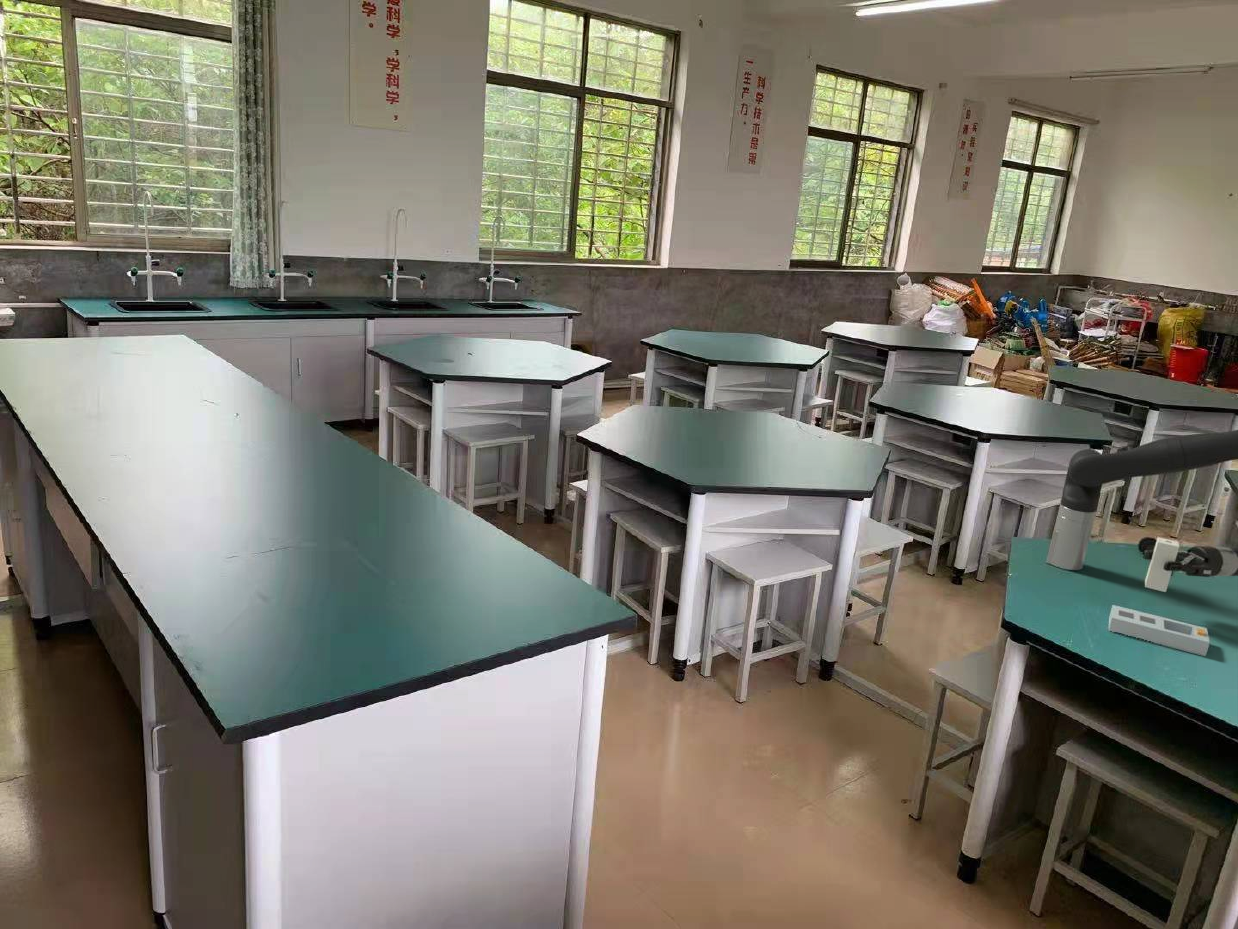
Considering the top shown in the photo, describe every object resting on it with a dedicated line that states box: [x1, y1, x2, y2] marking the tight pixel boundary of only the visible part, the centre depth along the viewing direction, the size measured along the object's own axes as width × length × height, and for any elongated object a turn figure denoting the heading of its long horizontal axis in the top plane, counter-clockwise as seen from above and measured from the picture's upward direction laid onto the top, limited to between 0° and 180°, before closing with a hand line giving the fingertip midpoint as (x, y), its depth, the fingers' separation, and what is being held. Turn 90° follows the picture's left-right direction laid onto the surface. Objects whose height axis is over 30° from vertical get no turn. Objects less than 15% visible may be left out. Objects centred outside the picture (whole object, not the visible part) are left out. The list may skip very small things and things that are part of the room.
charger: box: [1144, 536, 1180, 593], centre depth 225 cm, size 4×4×12 cm
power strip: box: [1108, 604, 1211, 657], centre depth 216 cm, size 20×9×4 cm, turn 61°
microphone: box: [1137, 536, 1157, 554], centre depth 267 cm, size 6×6×20 cm
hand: (1154, 560), depth 224 cm, fingers closed on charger, 6 cm apart
